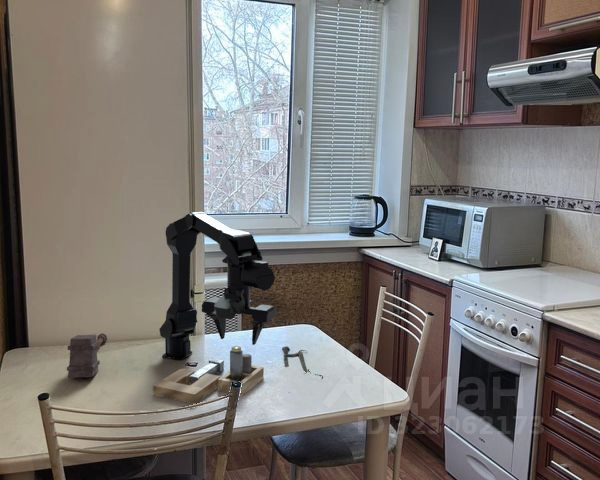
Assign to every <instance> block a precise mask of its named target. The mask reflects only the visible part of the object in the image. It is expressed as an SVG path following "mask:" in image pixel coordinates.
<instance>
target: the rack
mask: <svg viewBox="0 0 600 480" xmlns="http://www.w3.org/2000/svg"><path fill="white" fill-rule="evenodd" d="M252 360H253V359H252V355H251V354H250V353H249V354H248V353H243V380H242V381H241V383H242V387H241V393H240V395H239V396H241V397H242V396H244V395H245V394H247V392H249V391H250V390H251V389H253V387H255V386H256V385H257V384H258V383H259V382H260V381H262V380H263V379H264V375H265V373H264V366H263V367H262V366H260V365H259V366H257V365H253V364H252ZM233 381H235V380H230V370H229V371H228V372H226V373H225V374H223V375H222V376H220V378H219V379H218V388H217V391H218V392H224V393H228V394H230V393H229V391H230V387H231V383H232V382H233Z"/></svg>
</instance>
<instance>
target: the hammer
mask: <svg viewBox="0 0 600 480" xmlns="http://www.w3.org/2000/svg"><path fill="white" fill-rule="evenodd" d="M107 341H108V336H107V334H105V333H100V334H98V335H97V334H77V335H75V336H73V337H71V338H70V343H69V345H67V351H69V360H68V361H69V362H68V363H69V365H68V366H67V367H66V371H67V378H68V379H69V378H92V377H94V376H95V375H96V374H97V373H98V372H99V365H100V364H101V361H100V360H98V351H97V350H98V348H99V347H100V346H101V345H102V344H104V343H106V342H107Z"/></svg>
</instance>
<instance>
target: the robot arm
mask: <svg viewBox="0 0 600 480" xmlns="http://www.w3.org/2000/svg"><path fill="white" fill-rule="evenodd" d="M200 234H203V236H205V237H207V238H209V239H210V240H212V241H213V242H216V243H217V244H218V245H219V250H220V251H221V252H222V253H224V254H225V257H224V258H223V259H222V260H221V261H222V263H224V264H226V265H227V271H226V273H227V275H226V277H227V279H226V280H227V282H226V284H227V286H226V287H224V290H223V295H222V296H221V297H215V296H212V297H211V298H208V299H206V300H204V301H203V302H202V304H201V312H202V313H204V314H205V315H206V316H208V317H210V319H212V320H213V322H214V324H215V327H216V329H217V332H218V335H219V337H220V339H221V340H223V339H225V336H226V324H227V320H233V319H234V318H235V316H236V315H242V314H244V315H250V316H251V319H252V321H251V320H250V323H251V325H252V335H251V341H252V343H251V344H252V346H254V345H255V346H256V343H257V342H258V339H259V337H260V335H261V332H262V330H263V328H264V326H265V325H266V323H268V322H269V321H271V320H273V319H274V318H276V317H277V310H276V308H275V307H274V306H273V305H269V304H268V305H267V304H259V305H258V306H256V307H252V306H251V305H253V300H251V290H253V289H256V290H260V291H262V292H264V291H267V290H269V289H271V287H272V286H273V285H274V282H275V274H274V271H273V269H272V268H270V267H269V262H268V261H263V259H264V258H263V256H262V253H261V251H260V249H259V248H258V246H257V243H256V240H255V239H254V235H253V234H251V233H250V232H248V231H245V230H240V229H233V228H231V227H228V226H226V225H225V224H223V223H221V222H220V221H218V220H216V219H214V218H213V217H211V216H209V215H207V213H206V212H203V211H193V212H192V211H191V212H189V213H187V214H185V215H184V216H183V217H182V218H179V219H177V220H175V221H173V222H171V223H169V224H168V225H167V226H166V228H165V237H166V238H165V239H166V245H167V247H168V249H169V250H170V251H171V253H172V265H171V266H172V267H171V269H172V276H171V277H172V279H171V280H172V281H171V282H172V283H171V284H172V285H171V286H172V288H171V290H172V292H171V293H172V295H171V304H170V305H169V307H168V309H167V310H166V315H165V321H164V322H163V324H162V325H161V326H160V327H159V329H158V330H159V333H160V334H159V335H160V337H162V338H164V341H165V343H164V345H165V346H164V347H165V349H164V350H165V353H163V354H162V358H168V359H172V360H176V361H177V360H178V361H181V360H183V359H185V358H187V357H189V356H190V355H192V354H193V351H192V350H191V340H190V335H193V334H195V329H196V325H197V323H198V317H197V316H198V311H197V309H196V308H194V307H193V305H192V303H191V255H192V254H191V253H193V250H194V248H195V247H196V245H197V241H198V240H197V239H198V236H199V235H200Z"/></svg>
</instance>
